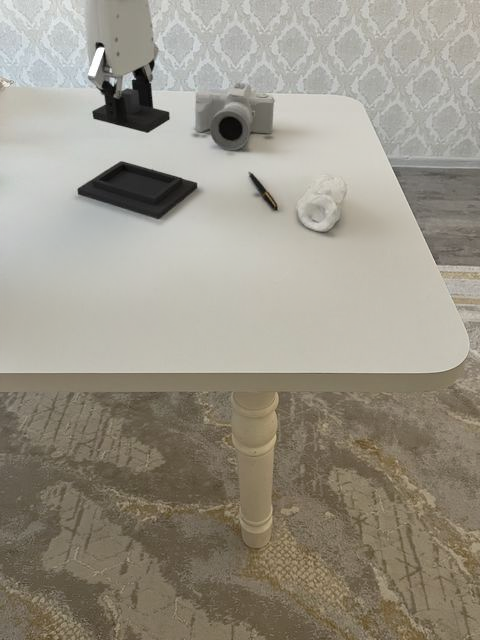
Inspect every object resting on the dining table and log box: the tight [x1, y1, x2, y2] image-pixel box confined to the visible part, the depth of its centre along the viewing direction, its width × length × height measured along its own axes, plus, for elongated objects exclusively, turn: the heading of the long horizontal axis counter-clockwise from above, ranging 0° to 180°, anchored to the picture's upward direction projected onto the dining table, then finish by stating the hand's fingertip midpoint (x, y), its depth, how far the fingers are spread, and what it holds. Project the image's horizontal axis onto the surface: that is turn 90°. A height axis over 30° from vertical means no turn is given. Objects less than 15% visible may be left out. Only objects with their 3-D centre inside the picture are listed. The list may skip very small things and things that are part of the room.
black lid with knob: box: [91, 87, 171, 134], centre depth 90 cm, size 10×6×4 cm, turn 64°
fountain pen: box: [248, 170, 279, 211], centre depth 101 cm, size 14×1×2 cm, turn 21°
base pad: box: [77, 160, 198, 220], centre depth 100 cm, size 16×12×2 cm
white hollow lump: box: [295, 173, 348, 232], centre depth 95 cm, size 9×12×8 cm
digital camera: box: [194, 82, 276, 152], centre depth 116 cm, size 17×14×10 cm
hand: (130, 114), depth 90 cm, fingers closed on black lid with knob, 6 cm apart
